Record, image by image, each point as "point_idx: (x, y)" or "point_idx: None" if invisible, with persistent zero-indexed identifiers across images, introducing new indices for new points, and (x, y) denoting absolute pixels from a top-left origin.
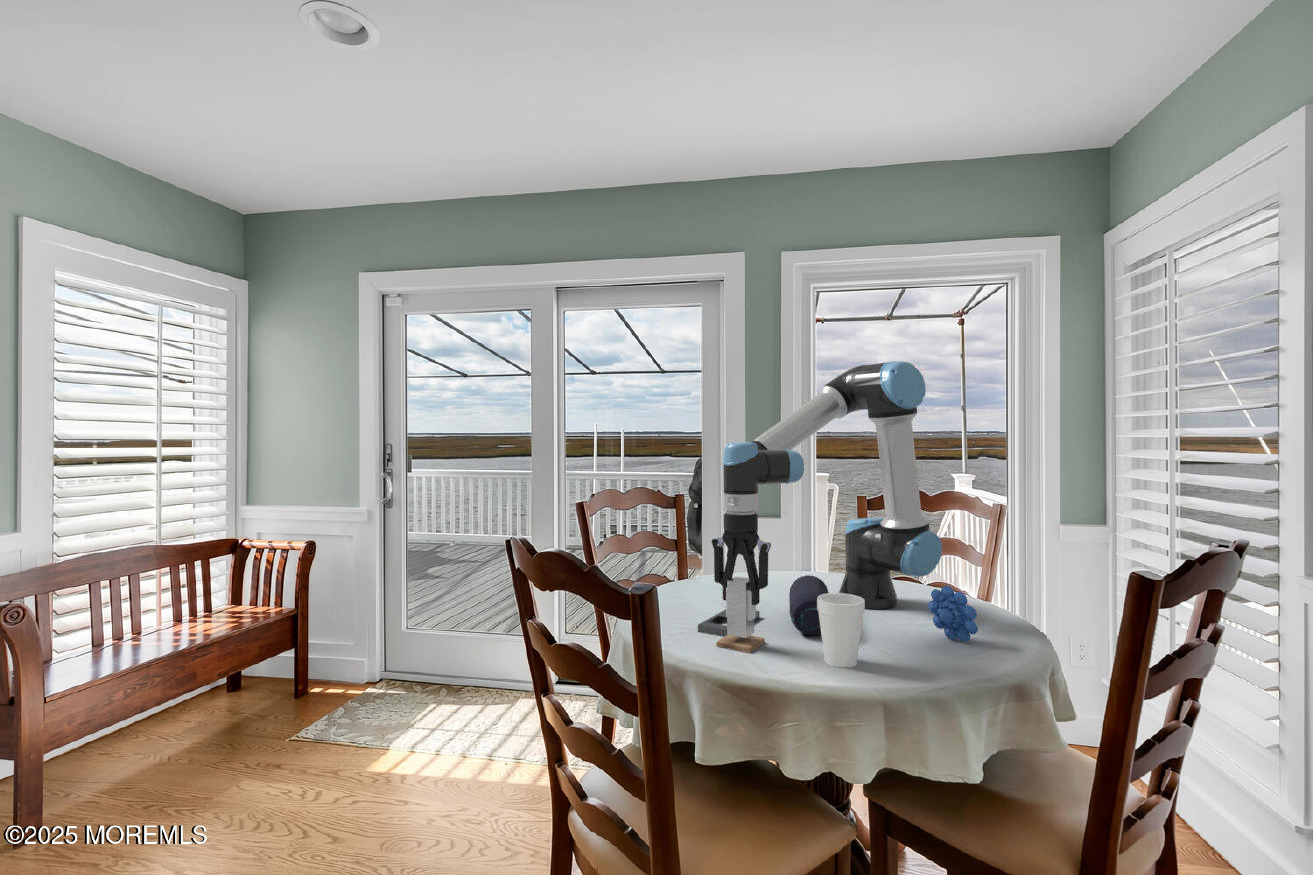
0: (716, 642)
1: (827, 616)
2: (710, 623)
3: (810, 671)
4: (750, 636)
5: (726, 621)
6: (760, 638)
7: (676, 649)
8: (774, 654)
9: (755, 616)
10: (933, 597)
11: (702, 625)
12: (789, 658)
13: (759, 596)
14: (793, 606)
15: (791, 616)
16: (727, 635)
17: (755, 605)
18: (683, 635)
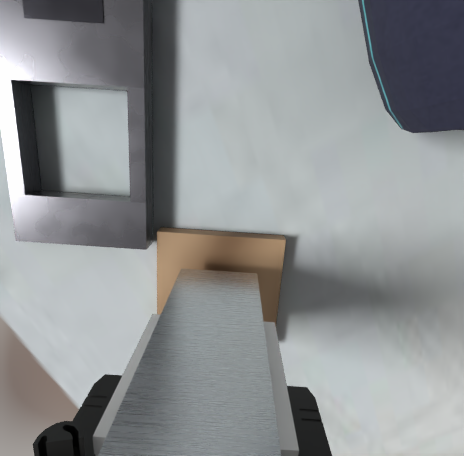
0: None
1: None
2: (47, 204)
3: (459, 391)
4: (234, 246)
5: (63, 85)
6: (273, 250)
7: (77, 397)
8: (341, 320)
9: (274, 328)
10: None
11: (36, 241)
12: (390, 331)
13: (322, 423)
14: (433, 95)
15: (392, 106)
16: (159, 273)
17: (281, 364)
18: (19, 289)
